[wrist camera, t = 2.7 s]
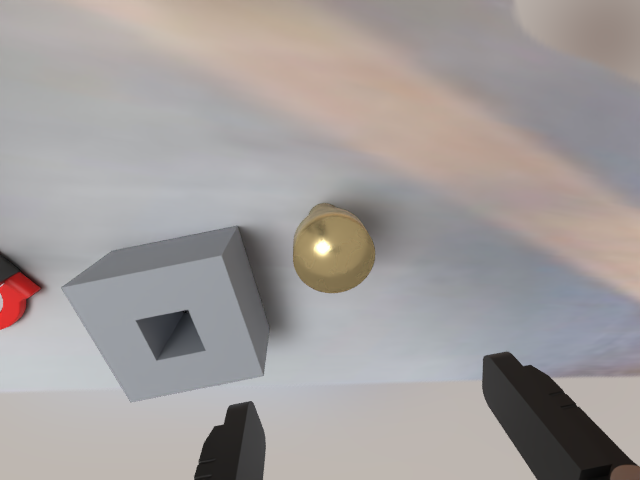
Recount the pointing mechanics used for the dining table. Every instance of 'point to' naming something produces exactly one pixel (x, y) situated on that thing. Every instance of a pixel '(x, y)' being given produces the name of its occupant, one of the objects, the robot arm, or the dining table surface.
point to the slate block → (174, 314)
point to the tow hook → (13, 293)
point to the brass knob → (332, 250)
